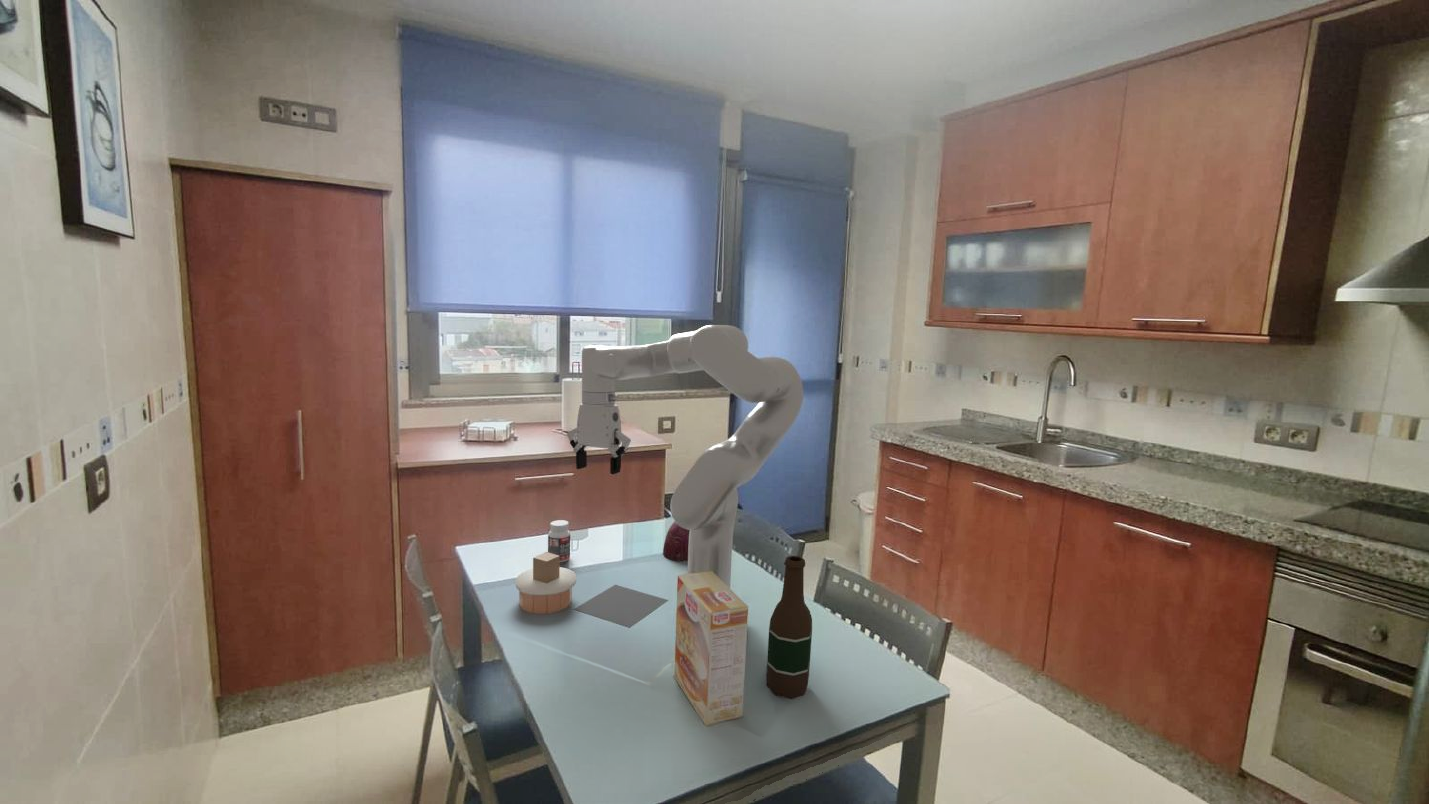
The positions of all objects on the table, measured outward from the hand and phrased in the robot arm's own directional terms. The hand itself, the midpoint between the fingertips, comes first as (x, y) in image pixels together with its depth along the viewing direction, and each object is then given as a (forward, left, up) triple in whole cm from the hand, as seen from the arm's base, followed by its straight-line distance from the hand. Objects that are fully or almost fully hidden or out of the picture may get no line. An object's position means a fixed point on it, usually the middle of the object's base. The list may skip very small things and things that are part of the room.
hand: (598, 470), depth 146 cm
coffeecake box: (-44, +26, -28) cm, 59 cm away
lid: (+2, +15, -23) cm, 27 cm away
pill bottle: (+18, -6, -28) cm, 34 cm away
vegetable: (-7, -27, -28) cm, 40 cm away
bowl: (+3, +15, -28) cm, 32 cm away
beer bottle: (-55, +16, -28) cm, 64 cm away
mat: (-12, +7, -28) cm, 31 cm away
